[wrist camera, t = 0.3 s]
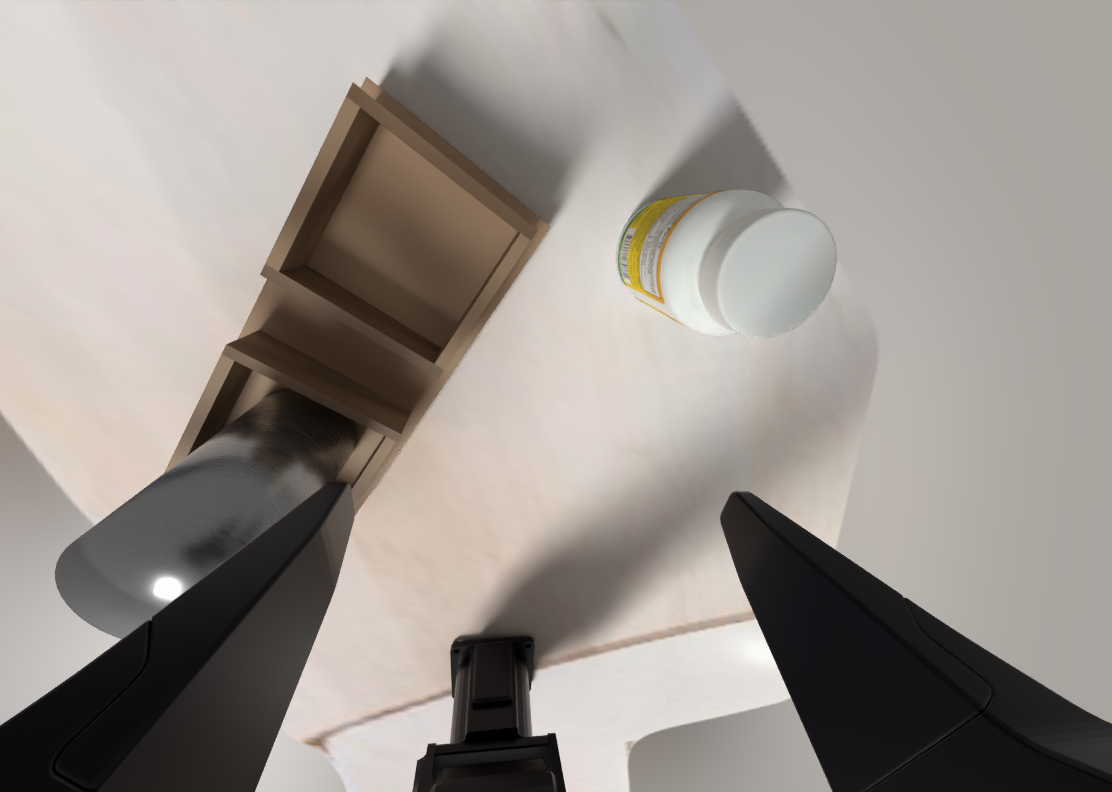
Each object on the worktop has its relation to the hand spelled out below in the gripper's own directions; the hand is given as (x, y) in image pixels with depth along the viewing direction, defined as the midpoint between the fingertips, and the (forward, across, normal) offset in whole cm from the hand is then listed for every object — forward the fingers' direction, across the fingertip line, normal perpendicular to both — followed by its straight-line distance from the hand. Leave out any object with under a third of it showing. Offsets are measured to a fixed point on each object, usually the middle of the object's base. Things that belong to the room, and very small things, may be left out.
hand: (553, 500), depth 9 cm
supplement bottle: (+15, -7, -4) cm, 17 cm away
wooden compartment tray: (+14, +8, +2) cm, 16 cm away
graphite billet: (+12, +11, +7) cm, 18 cm away
